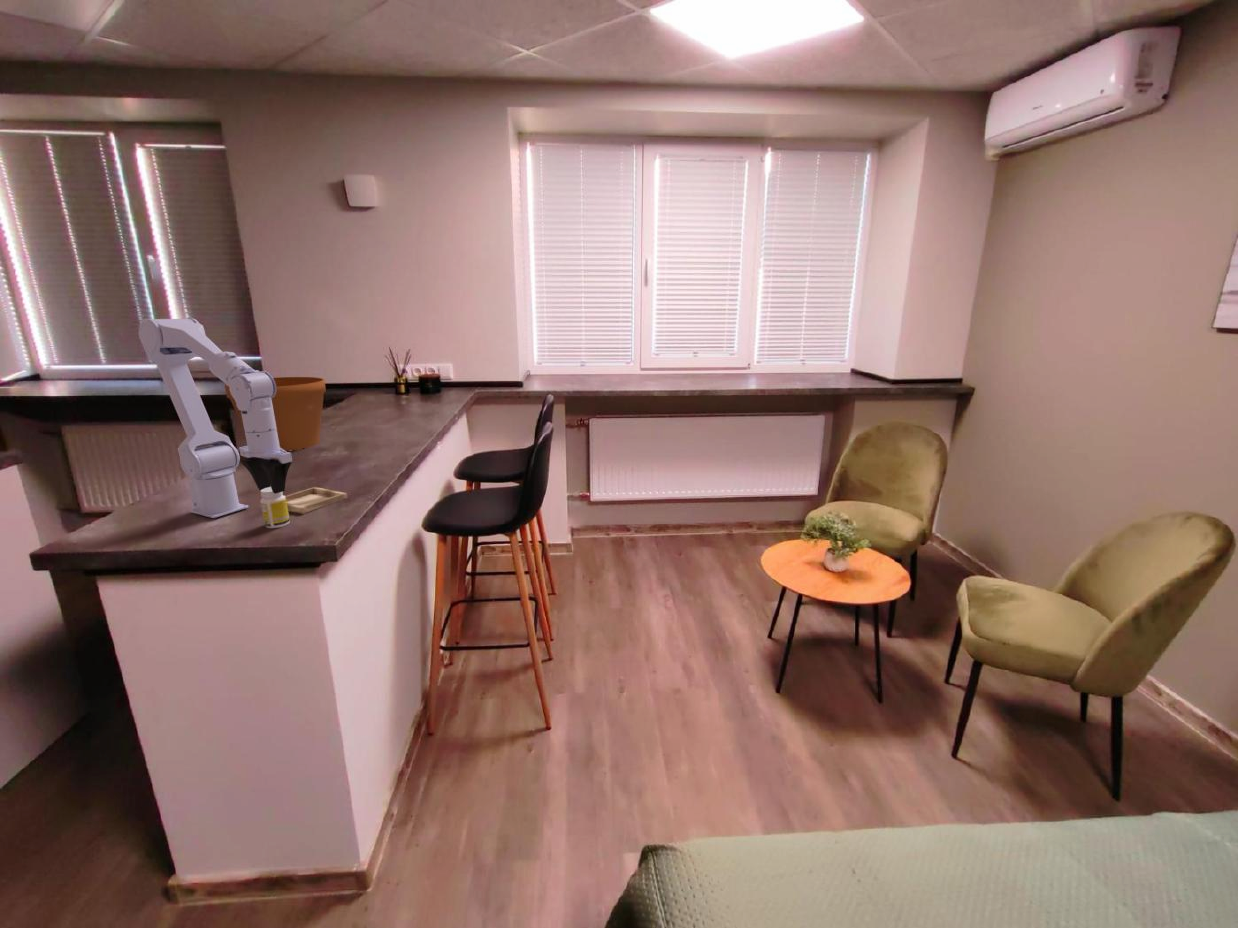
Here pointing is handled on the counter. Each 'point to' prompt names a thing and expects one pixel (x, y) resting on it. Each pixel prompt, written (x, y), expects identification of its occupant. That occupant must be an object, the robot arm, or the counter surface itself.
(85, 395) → the counter surface
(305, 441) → the flowerpot
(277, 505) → the supplement bottle
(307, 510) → the tray
